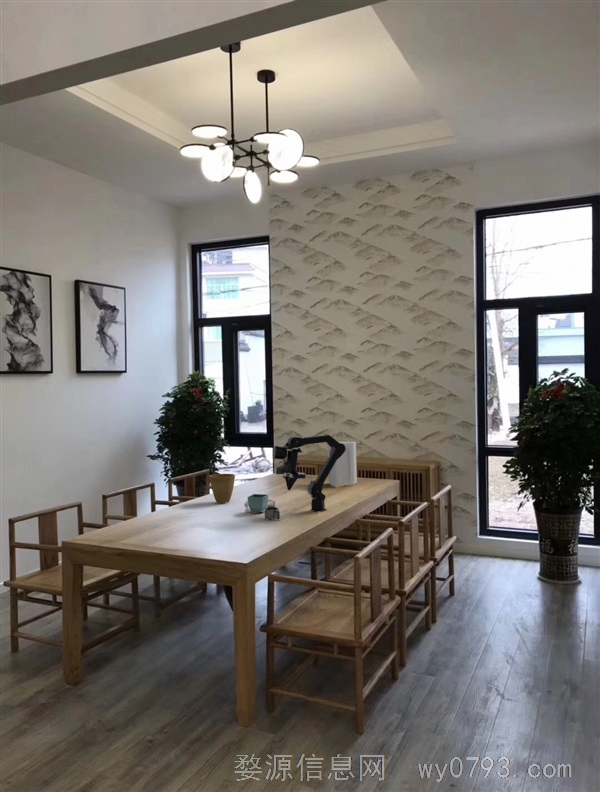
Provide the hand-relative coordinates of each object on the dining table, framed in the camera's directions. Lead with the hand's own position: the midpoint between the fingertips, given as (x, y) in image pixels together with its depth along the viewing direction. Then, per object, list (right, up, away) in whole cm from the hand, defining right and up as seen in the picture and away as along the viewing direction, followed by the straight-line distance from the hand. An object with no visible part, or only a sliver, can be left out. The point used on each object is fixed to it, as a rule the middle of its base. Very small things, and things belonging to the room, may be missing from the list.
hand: (288, 490), depth 334 cm
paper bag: (+32, -9, +82) cm, 89 cm away
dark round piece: (-8, -12, -11) cm, 18 cm away
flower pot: (-16, -13, +6) cm, 22 cm away
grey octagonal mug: (-8, -13, -12) cm, 19 cm away
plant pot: (-39, -13, +36) cm, 55 cm away
